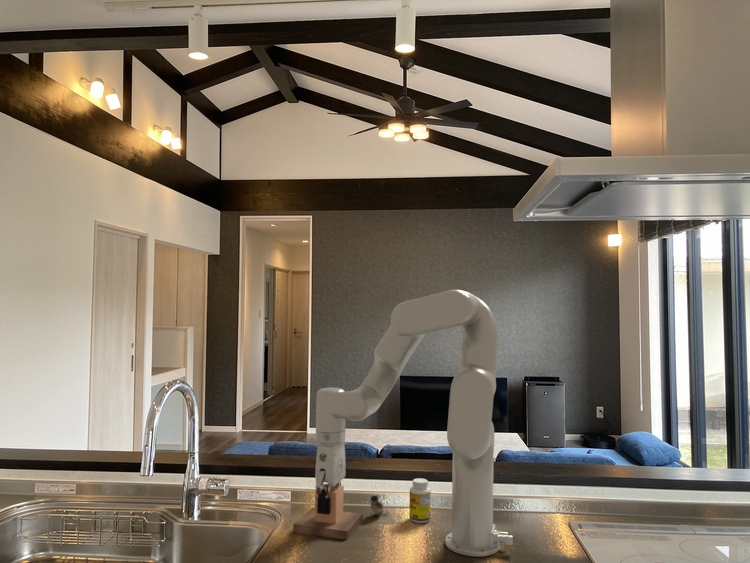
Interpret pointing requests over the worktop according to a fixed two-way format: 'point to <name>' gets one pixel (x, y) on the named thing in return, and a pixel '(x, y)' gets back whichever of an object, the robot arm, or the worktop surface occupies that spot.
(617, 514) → the worktop surface
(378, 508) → the bird figurine
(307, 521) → the walnut base board
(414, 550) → the worktop surface
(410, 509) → the supplement bottle
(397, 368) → the robot arm
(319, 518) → the peach upright block
